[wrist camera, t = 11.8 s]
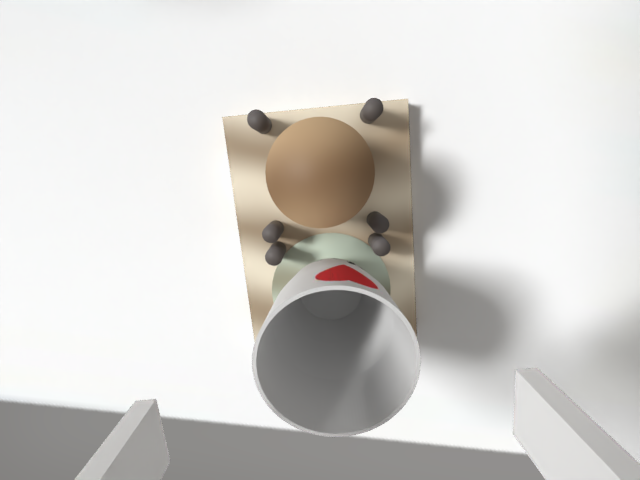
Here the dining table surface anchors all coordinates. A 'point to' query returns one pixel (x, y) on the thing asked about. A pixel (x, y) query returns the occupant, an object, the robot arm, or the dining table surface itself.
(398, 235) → the pin board
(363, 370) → the cup
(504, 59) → the dining table surface
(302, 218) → the wooden round post
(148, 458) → the robot arm
